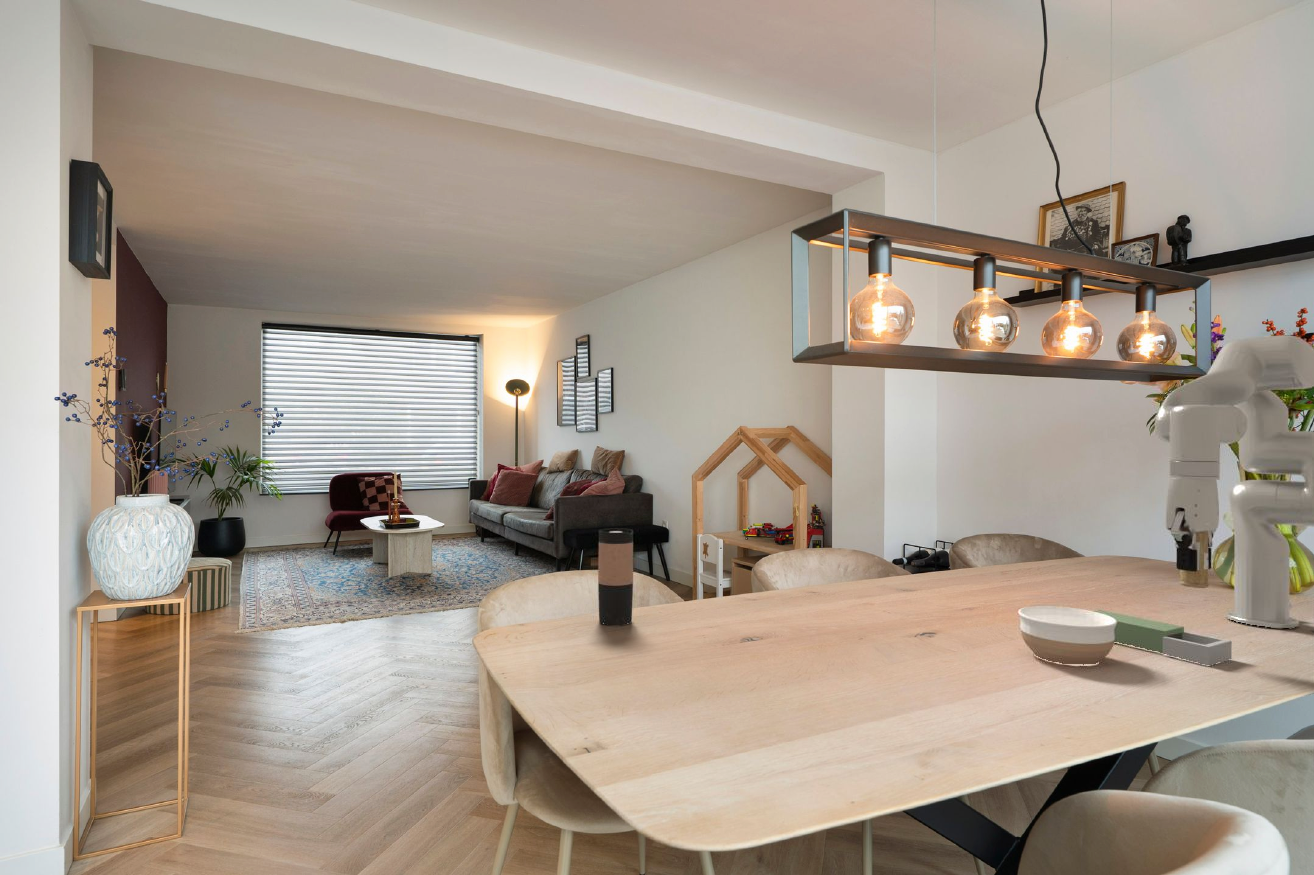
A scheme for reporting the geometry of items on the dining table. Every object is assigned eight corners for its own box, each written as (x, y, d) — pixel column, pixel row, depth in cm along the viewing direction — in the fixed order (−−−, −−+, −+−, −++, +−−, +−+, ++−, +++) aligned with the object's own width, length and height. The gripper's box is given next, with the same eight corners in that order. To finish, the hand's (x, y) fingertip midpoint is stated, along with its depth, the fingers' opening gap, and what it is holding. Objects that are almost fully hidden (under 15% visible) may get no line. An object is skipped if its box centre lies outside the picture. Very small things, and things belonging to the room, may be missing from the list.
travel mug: (592, 619, 164) (593, 529, 164) (624, 616, 167) (625, 527, 167) (605, 627, 157) (605, 533, 157) (638, 624, 160) (638, 531, 160)
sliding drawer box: (1101, 630, 156) (1101, 609, 156) (1231, 659, 136) (1231, 635, 136) (1077, 635, 152) (1078, 614, 152) (1208, 666, 132) (1208, 641, 132)
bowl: (1132, 674, 127) (1132, 628, 127) (1032, 668, 130) (1032, 623, 131) (1097, 649, 143) (1097, 608, 143) (1008, 644, 146) (1008, 603, 146)
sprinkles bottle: (1215, 588, 136) (1215, 515, 136) (1193, 588, 135) (1193, 515, 135) (1193, 583, 140) (1194, 512, 140) (1172, 584, 140) (1172, 512, 140)
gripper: (1194, 469, 145) (1194, 562, 145) (1148, 470, 137) (1147, 569, 137) (1239, 471, 139) (1239, 568, 139) (1193, 472, 130) (1193, 576, 130)
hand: (1193, 568), depth 138 cm, fingers closed on sprinkles bottle, 4 cm apart
